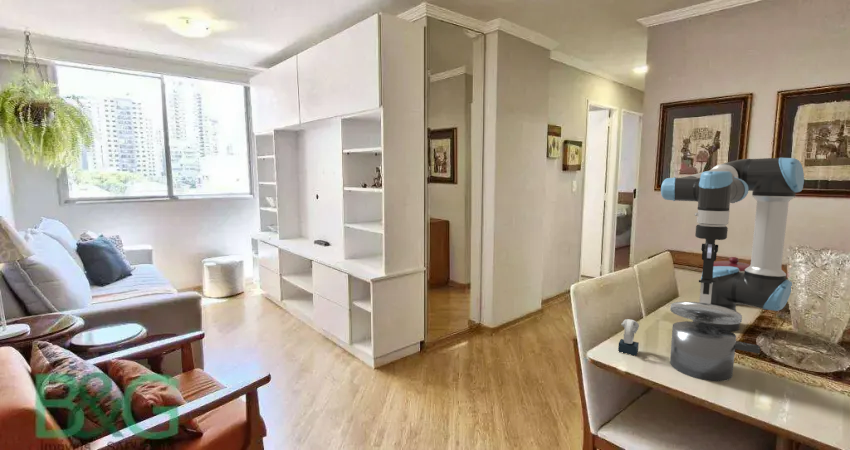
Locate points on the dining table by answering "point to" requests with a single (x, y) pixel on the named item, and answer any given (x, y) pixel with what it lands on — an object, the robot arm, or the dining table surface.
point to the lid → (706, 313)
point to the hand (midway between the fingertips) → (705, 303)
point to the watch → (629, 338)
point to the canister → (733, 265)
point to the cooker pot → (705, 350)
